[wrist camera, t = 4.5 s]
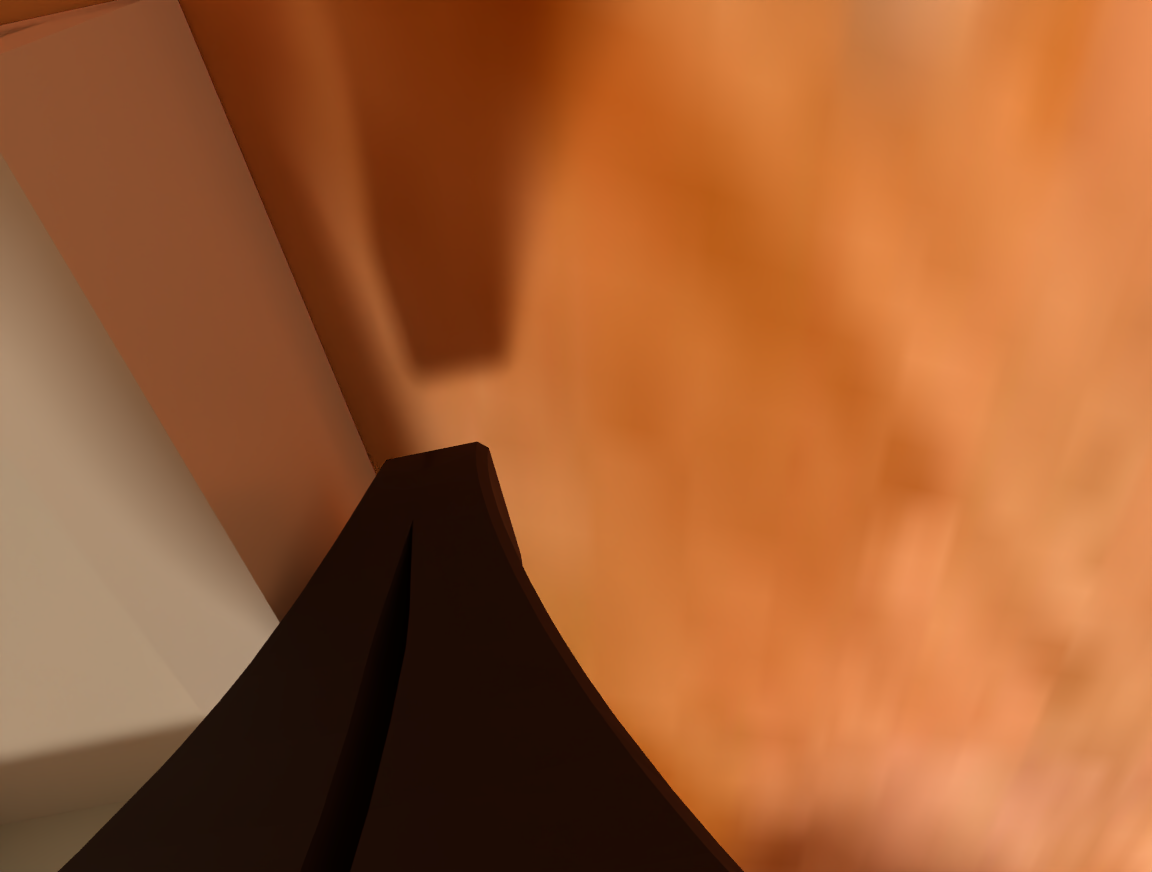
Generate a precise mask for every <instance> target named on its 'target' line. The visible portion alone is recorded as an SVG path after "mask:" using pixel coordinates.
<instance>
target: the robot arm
mask: <svg viewBox="0 0 1152 872" xmlns="http://www.w3.org/2000/svg"><path fill="white" fill-rule="evenodd" d="M58 872H744V871H743V870H742V869H741V868H740V867H739V866H738V865H737V864H736V862H735V861H734V860H733V859H732V858H731V857H730V856H729V855H728V854H727V853H726V851H725V850H724V849H723V848H722V847H721V846H720V845H719V844H718V842H717V841H716V840H715V839H714V838H713V837H712V835H711V834H710V833H709V832H708V831H707V830H706V828H705V827H704V826H703V825H702V824H701V823H700V821H699V820H698V819H697V818H696V817H695V816H694V814H693V813H692V812H691V811H690V810H689V809H688V807H687V806H686V805H685V804H684V803H683V802H682V800H681V799H680V798H679V797H678V796H677V795H676V793H675V792H674V791H673V790H672V789H671V787H670V786H669V785H668V783H667V782H666V781H665V780H664V778H663V777H662V776H661V774H660V773H659V772H658V771H657V769H656V768H655V767H654V765H653V764H652V763H651V762H650V760H649V759H648V758H647V757H646V755H645V754H644V753H643V751H642V750H641V749H640V748H639V746H638V745H637V744H636V742H635V741H634V740H633V739H632V737H631V736H630V735H629V733H628V732H627V731H626V730H625V728H624V727H623V726H622V724H621V723H620V722H619V721H618V719H617V718H616V717H615V715H614V714H613V713H612V711H611V710H610V708H609V707H608V705H607V704H606V703H605V701H604V700H603V698H602V697H601V695H600V694H599V693H598V691H597V690H596V688H595V687H594V685H593V684H592V683H591V681H590V680H589V678H588V677H587V675H586V674H585V672H584V671H583V669H582V668H581V666H580V665H579V663H578V662H577V660H576V659H575V657H574V655H573V654H572V652H571V651H570V649H569V648H568V646H567V645H566V643H565V641H564V640H563V638H562V637H561V635H560V633H559V632H558V630H557V628H556V627H555V625H554V623H553V622H552V620H551V618H550V616H549V615H548V613H547V611H546V609H545V608H544V606H543V604H542V602H541V600H540V598H539V597H538V595H537V593H536V591H535V589H534V588H533V586H532V584H531V582H530V580H529V578H528V576H527V574H526V572H525V570H524V568H523V566H522V559H521V554H520V551H519V547H518V544H517V541H516V537H515V534H514V531H513V527H512V524H511V521H510V517H509V514H508V511H507V507H506V504H505V501H504V497H503V494H502V491H501V487H500V484H499V481H498V477H497V474H496V471H495V467H494V464H493V461H492V457H491V454H490V451H489V448H488V447H486V446H484V445H482V444H481V443H479V442H473V443H468V444H463V445H458V446H453V447H448V448H443V449H438V450H433V451H428V452H424V453H419V454H414V455H409V456H404V457H399V458H394V459H389V460H386V462H385V463H384V465H383V466H382V468H381V469H380V471H379V472H378V474H377V475H376V477H375V478H374V480H373V481H372V483H371V484H370V486H369V488H368V489H367V491H366V492H365V494H364V496H363V497H362V499H361V501H360V502H359V504H358V505H357V507H356V509H355V510H354V512H353V514H352V515H351V517H350V518H349V520H348V522H347V523H346V525H345V526H344V528H343V530H342V531H341V533H340V534H339V536H338V538H337V539H336V541H335V542H334V544H333V545H332V547H331V548H330V550H329V551H328V553H327V555H326V556H325V558H324V559H323V561H322V562H321V564H320V565H319V567H318V568H317V570H316V571H315V573H314V574H313V576H312V577H311V579H310V580H309V582H308V583H307V585H306V586H305V588H304V589H303V591H302V592H301V594H300V595H299V597H298V598H297V600H296V601H295V602H294V604H293V605H292V607H291V608H290V609H289V611H288V612H287V614H286V615H285V616H284V618H283V619H282V620H281V622H280V623H279V624H278V626H277V627H276V629H275V630H274V631H273V633H272V634H271V635H270V637H269V638H268V640H267V641H266V642H265V644H264V645H263V646H262V648H261V649H260V650H259V652H258V653H257V655H256V656H255V657H254V659H253V660H252V661H251V663H250V664H249V665H248V666H247V668H246V669H245V670H244V672H243V673H242V674H241V675H240V677H239V678H238V679H237V680H236V681H235V683H234V684H233V685H232V686H231V688H230V689H229V690H228V691H227V692H226V694H225V695H224V696H223V697H222V699H221V700H220V701H219V702H218V703H217V704H216V706H215V707H214V708H213V709H212V710H211V711H210V713H209V714H208V715H207V716H206V717H205V718H204V719H203V721H202V722H201V723H200V724H199V725H198V726H197V727H196V729H195V730H194V731H193V732H192V733H191V734H190V736H189V737H188V738H187V739H186V740H185V741H184V742H183V744H182V745H181V746H180V747H179V748H178V749H177V750H176V751H175V752H174V754H173V755H172V756H171V757H170V758H169V759H168V760H167V761H166V762H165V763H164V765H163V766H162V767H161V768H160V769H159V770H158V771H157V772H156V773H155V774H154V775H153V776H152V777H151V778H150V779H149V780H148V781H147V782H146V783H145V784H144V785H143V786H142V787H141V788H140V789H139V790H138V791H137V792H136V793H135V794H134V795H133V796H132V797H131V798H130V799H129V800H128V801H127V802H126V803H125V804H124V805H123V807H122V808H121V809H120V810H119V811H118V812H117V813H116V814H115V815H114V816H113V817H112V818H111V819H110V820H109V821H108V822H107V823H106V824H105V825H104V826H103V827H102V828H101V829H100V830H99V831H98V832H97V833H96V834H95V835H94V836H93V837H92V838H91V839H90V840H89V841H88V842H87V843H86V844H85V845H84V846H83V847H82V849H81V850H80V851H79V852H77V853H76V854H75V855H74V856H73V857H72V858H71V859H70V860H69V861H68V862H67V863H66V864H65V865H64V866H63V867H62V868H61V869H60V870H59V871H58Z"/></svg>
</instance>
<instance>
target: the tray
mask: <svg viewBox="0 0 1152 872" xmlns="http://www.w3.org/2000/svg"><path fill="white" fill-rule="evenodd" d="M375 477H376V474H375V472H374V469H373V467H372V464H371V462H370V460H369V457H368V455H367V452H366V450H365V448H364V445H363V443H362V440H361V438H360V436H359V433H358V431H357V428H356V426H355V424H354V421H353V419H352V416H351V414H350V412H349V409H348V407H347V404H346V402H345V400H344V397H343V395H342V392H341V390H340V388H339V385H338V383H337V380H336V378H335V376H334V373H333V371H332V368H331V366H330V364H329V361H328V359H327V356H326V354H325V352H324V349H323V347H322V344H321V342H320V340H319V337H318V335H317V332H316V330H315V328H314V325H313V323H312V320H311V318H310V316H309V313H308V311H307V308H306V306H305V304H304V301H303V299H302V296H301V294H300V292H299V289H298V287H297V284H296V282H295V280H294V277H293V275H292V272H291V270H290V268H289V265H288V263H287V260H286V258H285V256H284V253H283V251H282V248H281V246H280V244H279V241H278V239H277V236H276V234H275V232H274V229H273V227H272V224H271V222H270V220H269V217H268V215H267V213H266V210H265V208H264V205H263V203H262V201H261V198H260V196H259V193H258V191H257V189H256V186H255V184H254V181H253V179H252V177H251V174H250V172H249V169H248V167H247V165H246V162H245V160H244V157H243V155H242V153H241V150H240V148H239V145H238V143H237V141H236V138H235V136H234V133H233V131H232V129H231V126H230V124H229V121H228V119H227V117H226V114H225V112H224V109H223V107H222V105H221V102H220V100H219V97H218V95H217V93H216V90H215V88H214V85H213V83H212V81H211V78H210V76H209V73H208V71H207V69H206V66H205V64H204V61H203V59H202V57H201V54H200V52H199V49H198V47H197V45H196V42H195V40H194V37H193V35H192V33H191V30H190V28H189V25H188V23H187V21H186V18H185V16H184V13H183V11H182V9H181V6H180V4H179V1H178V0H116V1H111V2H106V3H102V4H97V5H92V6H88V7H83V8H78V9H74V10H69V11H64V12H60V13H55V14H50V15H46V16H41V17H36V18H32V19H27V20H22V21H18V22H13V23H8V24H4V25H0V872H58V871H59V870H60V869H61V868H62V867H63V866H64V865H65V864H66V863H67V862H68V861H69V860H70V859H71V858H72V857H73V856H74V855H75V854H76V853H77V852H79V851H80V850H81V849H82V847H83V846H84V845H85V844H86V843H87V842H88V841H89V840H90V839H91V838H92V837H93V836H94V835H95V834H96V833H97V832H98V831H99V830H100V829H101V828H102V827H103V826H104V825H105V824H106V823H107V822H108V821H109V820H110V819H111V818H112V817H113V816H114V815H115V814H116V813H117V812H118V811H119V810H120V809H121V808H122V807H123V805H124V804H125V803H126V802H127V801H128V800H129V799H130V798H131V797H132V796H133V795H134V794H135V793H136V792H137V791H138V790H139V789H140V788H141V787H142V786H143V785H144V784H145V783H146V782H147V781H148V780H149V779H150V778H151V777H152V776H153V775H154V774H155V773H156V772H157V771H158V770H159V769H160V768H161V767H162V766H163V765H164V763H165V762H166V761H167V760H168V759H169V758H170V757H171V756H172V755H173V754H174V752H175V751H176V750H177V749H178V748H179V747H180V746H181V745H182V744H183V742H184V741H185V740H186V739H187V738H188V737H189V736H190V734H191V733H192V732H193V731H194V730H195V729H196V727H197V726H198V725H199V724H200V723H201V722H202V721H203V719H204V718H205V717H206V716H207V715H208V714H209V713H210V711H211V710H212V709H213V708H214V707H215V706H216V704H217V703H218V702H219V701H220V700H221V699H222V697H223V696H224V695H225V694H226V692H227V691H228V690H229V689H230V688H231V686H232V685H233V684H234V683H235V681H236V680H237V679H238V678H239V677H240V675H241V674H242V673H243V672H244V670H245V669H246V668H247V666H248V665H249V664H250V663H251V661H252V660H253V659H254V657H255V656H256V655H257V653H258V652H259V650H260V649H261V648H262V646H263V645H264V644H265V642H266V641H267V640H268V638H269V637H270V635H271V634H272V633H273V631H274V630H275V629H276V627H277V626H278V624H279V623H280V622H281V620H282V619H283V618H284V616H285V615H286V614H287V612H288V611H289V609H290V608H291V607H292V605H293V604H294V602H295V601H296V600H297V598H298V597H299V595H300V594H301V592H302V591H303V589H304V588H305V586H306V585H307V583H308V582H309V580H310V579H311V577H312V576H313V574H314V573H315V571H316V570H317V568H318V567H319V565H320V564H321V562H322V561H323V559H324V558H325V556H326V555H327V553H328V551H329V550H330V548H331V547H332V545H333V544H334V542H335V541H336V539H337V538H338V536H339V534H340V533H341V531H342V530H343V528H344V526H345V525H346V523H347V522H348V520H349V518H350V517H351V515H352V514H353V512H354V510H355V509H356V507H357V505H358V504H359V502H360V501H361V499H362V497H363V496H364V494H365V492H366V491H367V489H368V488H369V486H370V484H371V483H372V481H373V480H374V478H375Z"/></svg>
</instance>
